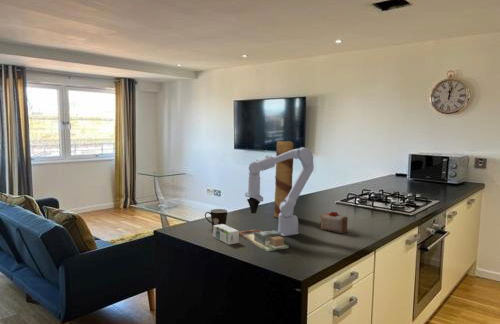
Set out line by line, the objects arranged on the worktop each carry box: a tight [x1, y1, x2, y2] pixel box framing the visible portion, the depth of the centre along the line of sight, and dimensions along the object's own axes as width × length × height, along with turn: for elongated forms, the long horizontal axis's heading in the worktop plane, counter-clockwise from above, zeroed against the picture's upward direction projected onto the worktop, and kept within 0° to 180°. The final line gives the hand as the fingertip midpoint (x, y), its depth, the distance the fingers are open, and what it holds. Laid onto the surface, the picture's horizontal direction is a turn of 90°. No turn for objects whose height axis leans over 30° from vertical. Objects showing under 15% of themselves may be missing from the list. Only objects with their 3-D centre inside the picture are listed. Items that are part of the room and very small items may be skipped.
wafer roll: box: [273, 140, 294, 219], centre depth 212 cm, size 10×11×45 cm
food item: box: [320, 211, 349, 234], centre depth 186 cm, size 14×8×10 cm, turn 50°
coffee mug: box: [204, 208, 229, 230], centre depth 184 cm, size 12×9×10 cm
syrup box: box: [212, 224, 240, 245], centre depth 167 cm, size 6×6×14 cm
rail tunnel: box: [239, 229, 290, 252], centre depth 167 cm, size 11×28×6 cm, turn 29°
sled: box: [264, 230, 285, 249], centre depth 159 cm, size 5×12×4 cm, turn 29°
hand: (253, 213), depth 179 cm, fingers closed
